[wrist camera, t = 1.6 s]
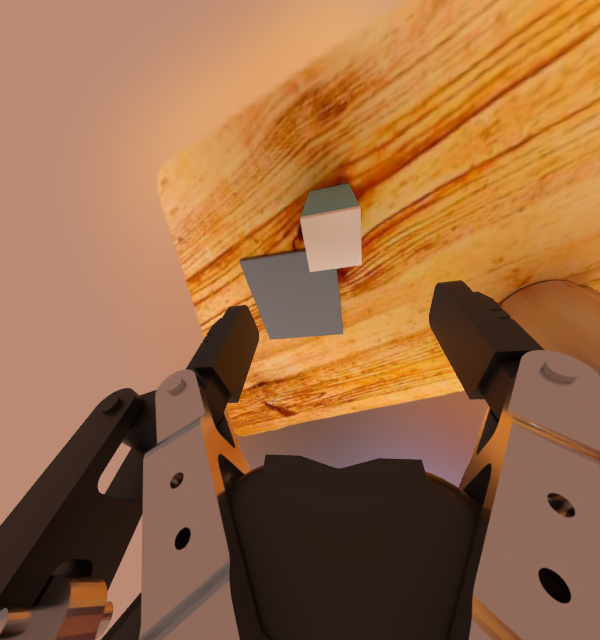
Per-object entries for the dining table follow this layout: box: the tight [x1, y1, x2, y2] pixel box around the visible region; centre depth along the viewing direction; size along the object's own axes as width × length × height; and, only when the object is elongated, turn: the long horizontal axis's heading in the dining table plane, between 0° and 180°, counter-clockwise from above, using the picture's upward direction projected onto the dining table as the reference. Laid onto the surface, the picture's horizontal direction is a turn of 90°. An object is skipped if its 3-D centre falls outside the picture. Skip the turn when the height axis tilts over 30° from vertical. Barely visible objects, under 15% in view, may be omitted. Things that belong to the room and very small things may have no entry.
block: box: [300, 183, 362, 272], centre depth 19 cm, size 4×4×10 cm
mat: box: [240, 250, 343, 339], centre depth 31 cm, size 12×14×1 cm
